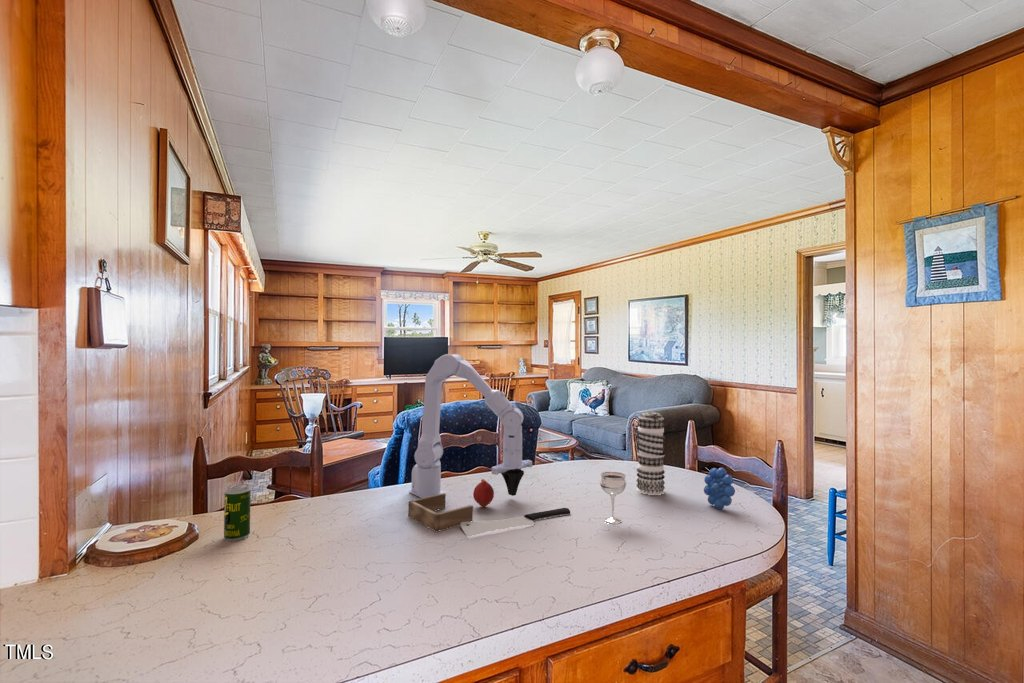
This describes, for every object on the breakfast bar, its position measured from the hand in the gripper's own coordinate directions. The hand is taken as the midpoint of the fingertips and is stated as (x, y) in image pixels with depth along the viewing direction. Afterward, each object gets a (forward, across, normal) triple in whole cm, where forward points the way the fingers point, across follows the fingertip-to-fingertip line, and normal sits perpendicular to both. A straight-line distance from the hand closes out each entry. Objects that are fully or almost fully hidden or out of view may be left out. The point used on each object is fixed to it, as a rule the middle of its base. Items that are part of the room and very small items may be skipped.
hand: (512, 494), depth 142 cm
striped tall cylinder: (+2, +39, -22) cm, 45 cm away
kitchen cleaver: (+2, -11, -16) cm, 20 cm away
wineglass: (+2, +9, -30) cm, 31 cm away
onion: (+2, -11, 0) cm, 11 cm away
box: (+1, -25, 0) cm, 25 cm away
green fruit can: (+2, -69, +20) cm, 72 cm away
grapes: (+2, +41, -44) cm, 60 cm away
